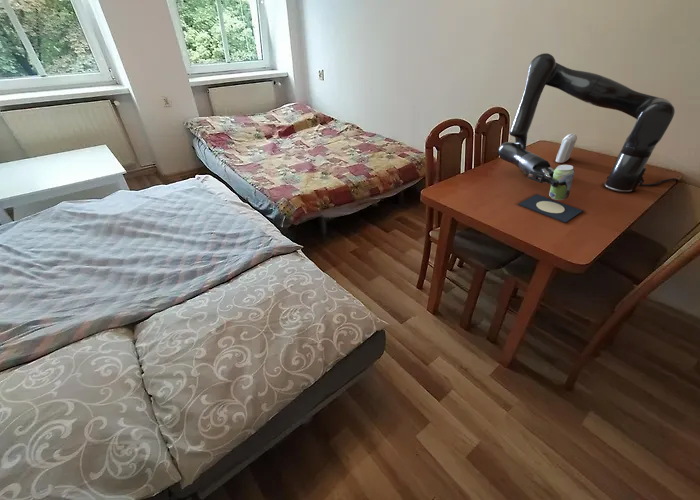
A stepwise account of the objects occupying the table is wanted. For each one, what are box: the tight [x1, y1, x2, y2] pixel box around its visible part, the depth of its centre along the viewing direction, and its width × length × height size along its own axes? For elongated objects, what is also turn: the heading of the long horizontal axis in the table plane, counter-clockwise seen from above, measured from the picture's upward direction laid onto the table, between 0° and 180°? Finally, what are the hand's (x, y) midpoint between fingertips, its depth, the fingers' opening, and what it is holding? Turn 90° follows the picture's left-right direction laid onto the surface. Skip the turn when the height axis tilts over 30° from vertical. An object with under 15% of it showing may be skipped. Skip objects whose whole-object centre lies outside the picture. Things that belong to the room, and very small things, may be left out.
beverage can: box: [548, 164, 575, 201], centre depth 115 cm, size 6×7×12 cm
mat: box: [518, 193, 584, 224], centre depth 119 cm, size 17×13×1 cm
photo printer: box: [555, 133, 578, 164], centre depth 155 cm, size 10×4×12 cm, turn 134°
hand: (562, 184), depth 112 cm, fingers closed on beverage can, 3 cm apart
